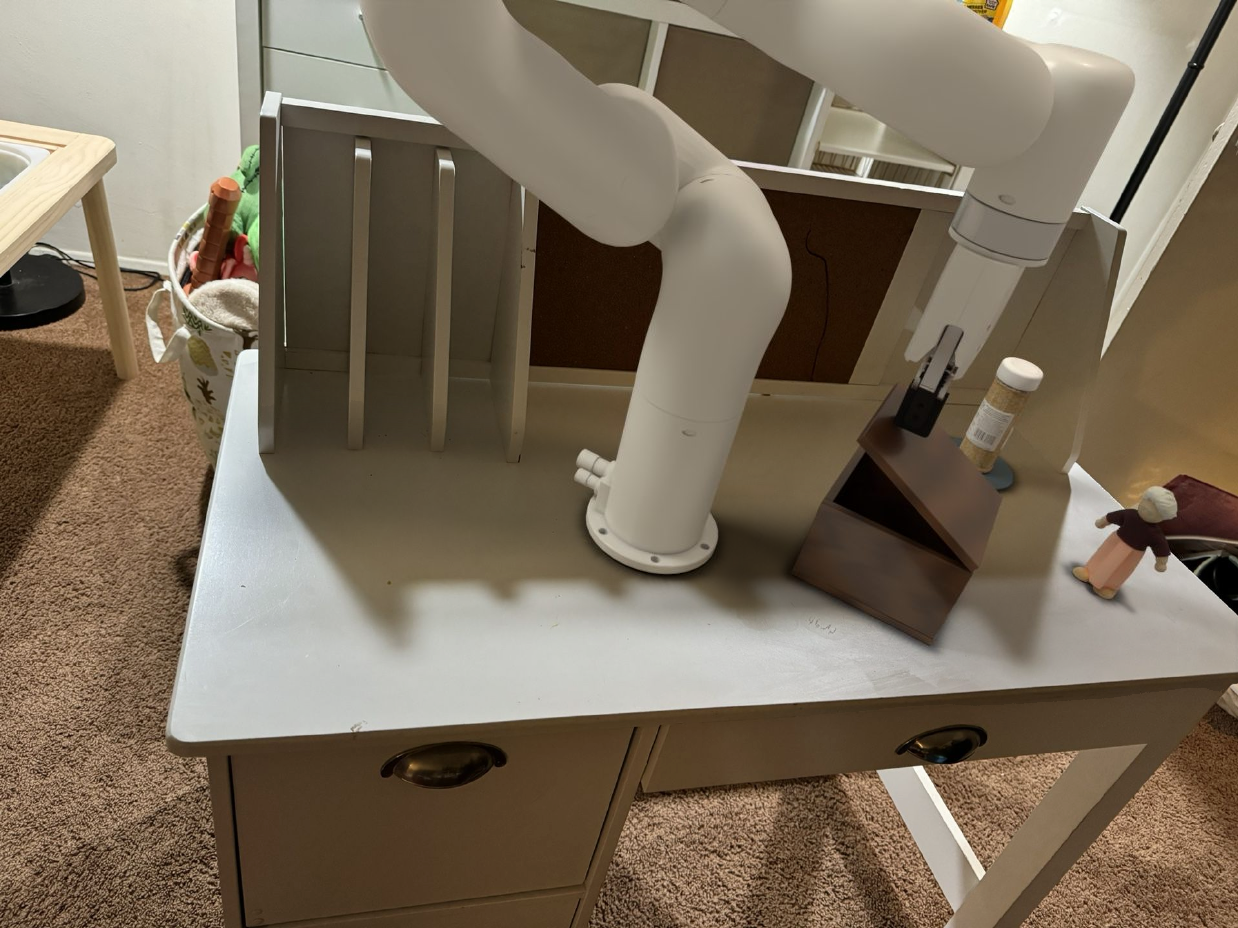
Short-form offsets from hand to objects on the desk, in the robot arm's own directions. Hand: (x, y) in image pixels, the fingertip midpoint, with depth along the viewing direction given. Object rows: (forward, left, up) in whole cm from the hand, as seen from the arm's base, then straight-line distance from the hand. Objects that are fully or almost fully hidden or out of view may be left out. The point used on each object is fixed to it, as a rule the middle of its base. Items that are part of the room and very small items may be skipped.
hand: (911, 427), depth 76 cm
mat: (+7, +28, -16) cm, 33 cm away
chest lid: (+3, 0, -3) cm, 5 cm away
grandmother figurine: (+23, +15, -16) cm, 32 cm away
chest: (+3, 0, -16) cm, 16 cm away
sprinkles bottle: (+7, +28, -15) cm, 33 cm away
